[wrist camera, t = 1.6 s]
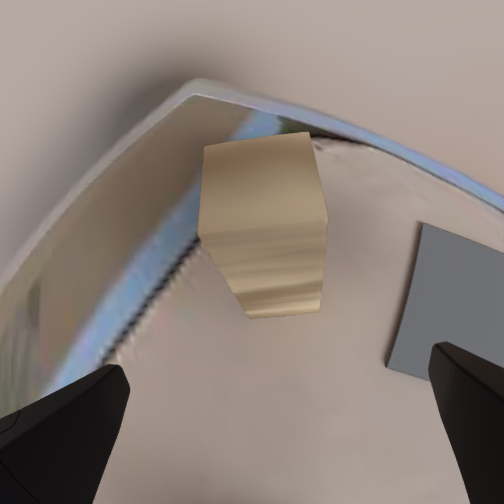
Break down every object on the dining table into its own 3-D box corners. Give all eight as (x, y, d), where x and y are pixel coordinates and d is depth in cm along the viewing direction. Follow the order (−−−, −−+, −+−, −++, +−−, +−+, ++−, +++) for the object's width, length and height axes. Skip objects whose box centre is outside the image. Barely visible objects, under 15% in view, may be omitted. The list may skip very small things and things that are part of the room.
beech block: (318, 312, 22) (328, 219, 12) (249, 318, 23) (197, 234, 12) (311, 250, 24) (308, 131, 14) (247, 257, 25) (204, 146, 14)
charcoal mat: (511, 402, 15) (515, 402, 15) (385, 367, 19) (387, 366, 19) (529, 269, 20) (532, 266, 19) (421, 226, 24) (423, 223, 23)
